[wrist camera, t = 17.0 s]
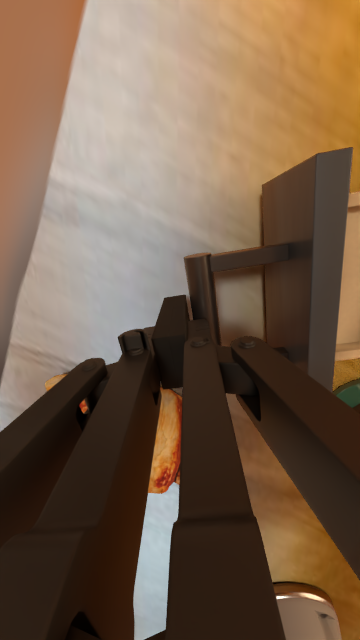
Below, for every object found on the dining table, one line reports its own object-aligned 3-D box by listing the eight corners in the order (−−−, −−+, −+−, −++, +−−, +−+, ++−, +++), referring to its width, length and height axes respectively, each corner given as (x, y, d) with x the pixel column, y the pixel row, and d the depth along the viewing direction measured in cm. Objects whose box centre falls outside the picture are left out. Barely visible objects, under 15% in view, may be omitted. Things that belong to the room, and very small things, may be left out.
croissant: (64, 373, 28) (14, 445, 22) (70, 328, 20) (-4, 419, 15) (219, 444, 30) (208, 523, 25) (273, 427, 23) (273, 534, 18)
